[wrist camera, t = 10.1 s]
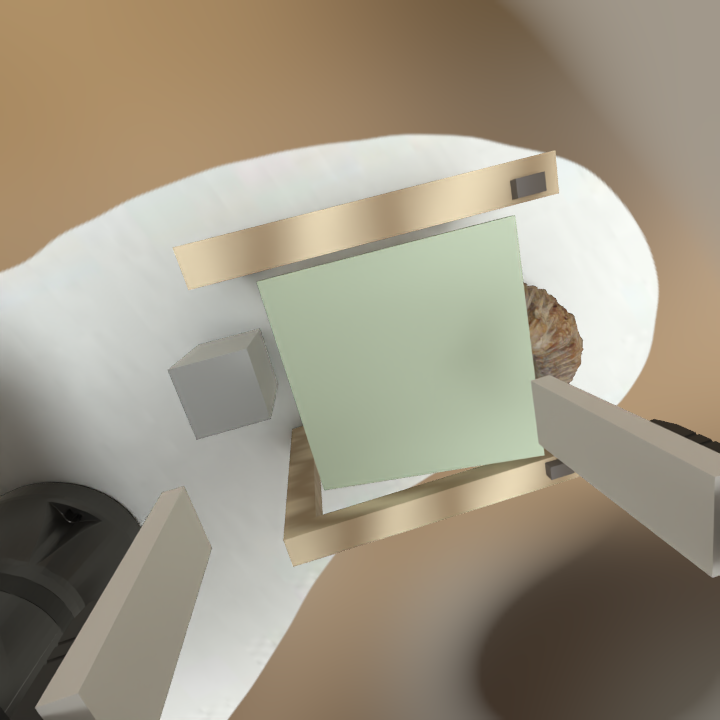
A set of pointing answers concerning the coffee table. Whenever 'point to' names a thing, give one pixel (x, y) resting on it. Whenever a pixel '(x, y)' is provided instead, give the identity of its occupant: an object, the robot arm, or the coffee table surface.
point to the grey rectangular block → (226, 384)
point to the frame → (349, 229)
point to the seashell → (552, 336)
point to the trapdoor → (410, 356)
